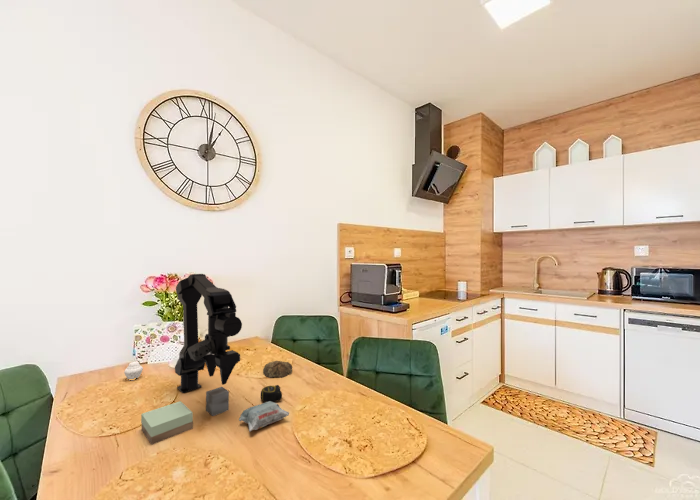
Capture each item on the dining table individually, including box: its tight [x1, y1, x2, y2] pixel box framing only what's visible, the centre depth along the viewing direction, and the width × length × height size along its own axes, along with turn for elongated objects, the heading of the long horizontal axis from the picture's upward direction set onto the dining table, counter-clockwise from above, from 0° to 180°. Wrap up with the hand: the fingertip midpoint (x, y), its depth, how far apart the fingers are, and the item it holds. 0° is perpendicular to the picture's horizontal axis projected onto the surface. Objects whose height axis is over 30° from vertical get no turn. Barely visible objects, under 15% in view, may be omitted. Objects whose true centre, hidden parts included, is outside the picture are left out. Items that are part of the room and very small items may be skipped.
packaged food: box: [238, 401, 290, 432], centre depth 87 cm, size 9×12×5 cm
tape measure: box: [260, 384, 283, 403], centre depth 101 cm, size 7×7×4 cm
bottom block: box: [141, 420, 194, 445], centre depth 84 cm, size 10×10×2 cm
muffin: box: [123, 360, 144, 380], centre depth 119 cm, size 6×6×7 cm
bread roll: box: [262, 360, 293, 379], centre depth 126 cm, size 13×12×5 cm
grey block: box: [205, 386, 230, 417], centre depth 94 cm, size 5×5×6 cm
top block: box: [140, 400, 194, 437], centre depth 84 cm, size 10×10×2 cm
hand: (217, 380), depth 94 cm, fingers open, 9 cm apart
